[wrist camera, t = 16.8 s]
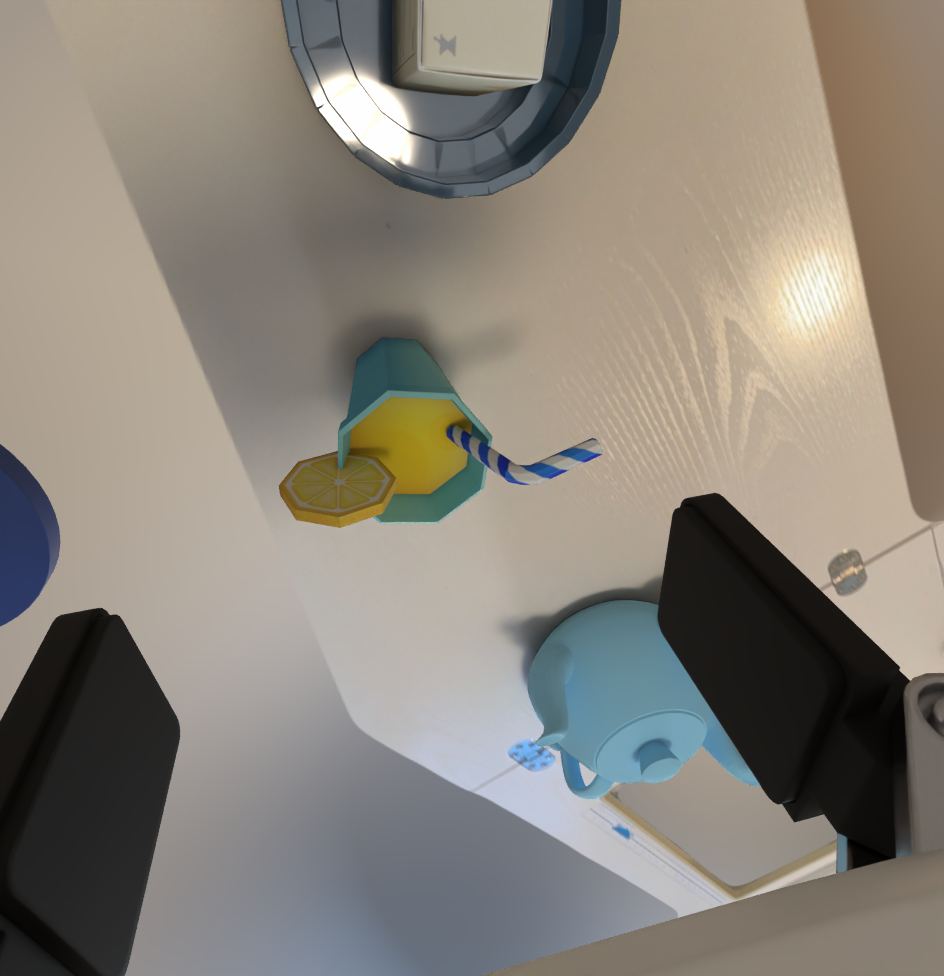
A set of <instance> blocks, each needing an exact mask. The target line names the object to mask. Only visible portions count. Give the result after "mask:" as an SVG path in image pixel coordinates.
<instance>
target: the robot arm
mask: <svg viewBox="0 0 944 976" xmlns="http://www.w3.org/2000/svg"><path fill="white" fill-rule="evenodd" d="M657 619H658V624H659V628H660V630H661V633H662V634H663V636H664V638H665V639H666V641H667V642H668V644H669V645H670V647H671V648H672V650H673V651H674V653H675V655H676V656H677V658H678V659H679V661H680V662H681V664H682V665H683V667H684V668H685V670H686V672H687V673H688V675H689V676H690V678H691V679H692V681H693V682H694V684H695V685H696V687H697V688H698V690H699V692H700V693H701V695H702V696H703V698H704V699H705V701H706V702H707V704H708V705H709V707H710V709H711V710H712V712H713V713H714V715H715V716H716V718H717V719H718V721H719V722H720V724H721V725H722V727H723V729H724V730H725V732H726V733H727V735H728V736H729V738H730V739H731V741H732V742H733V744H734V746H735V747H736V749H737V750H738V752H739V753H740V755H741V756H742V758H743V759H744V761H745V762H746V764H747V766H748V767H749V769H750V770H751V772H752V773H753V775H754V776H755V778H756V779H757V781H758V783H759V784H760V786H761V787H762V789H763V790H764V792H765V793H766V794H767V796H768V797H769V798H770V799H771V800H772V801H773V802H774V803H776V804H782V805H783V806H784V807H785V809H786V811H787V812H788V814H789V815H790V817H791V818H792V819H793V821H794V822H797V821H801V820H805V819H809V818H812V817H816V816H819V815H823V814H824V815H825V816H826V818H827V819H828V820H829V822H830V823H831V824H832V826H833V827H834V829H835V830H836V832H837V860H836V874H833V875H829V876H826V877H822V878H818V879H814V880H811V881H807V882H803V883H799V884H796V885H792V886H788V887H784V888H781V889H777V890H774V891H770V892H767V893H764V894H760V895H757V896H753V897H750V898H746V899H743V900H739V901H736V902H732V903H729V904H725V905H722V906H718V907H715V908H711V909H708V910H705V911H701V912H698V913H694V914H691V915H687V916H684V917H680V918H677V919H673V920H670V921H666V922H663V923H659V924H656V925H652V926H649V927H646V928H642V929H639V930H635V931H632V932H628V933H625V934H621V935H618V936H614V937H611V938H608V939H604V940H601V941H597V942H594V943H590V944H587V945H584V946H580V947H577V948H574V949H570V950H567V951H563V952H560V953H556V954H553V955H550V956H546V957H543V958H539V959H536V960H533V961H529V962H526V963H522V964H519V965H515V966H512V967H509V968H505V969H502V970H498V971H495V972H492V973H488V974H485V975H482V976H944V673H927V674H923V675H921V676H918V677H915V678H913V679H912V680H911V681H910V680H909V679H908V678H907V677H906V676H905V675H904V674H902V673H901V672H900V671H899V669H900V667H899V666H898V665H897V664H896V663H895V662H894V661H893V660H892V659H891V658H890V657H889V656H888V655H887V654H886V653H885V652H884V651H883V650H882V649H881V648H880V647H879V646H878V645H877V644H876V643H874V642H873V641H872V640H871V639H870V638H869V637H868V636H867V635H866V634H865V633H864V632H863V631H862V630H861V629H860V628H859V627H858V626H857V625H856V624H855V623H854V622H853V621H852V620H851V619H850V618H849V617H847V616H846V615H845V614H844V613H843V612H842V611H841V610H840V609H839V608H838V607H837V606H836V605H835V604H834V603H833V602H832V601H831V600H830V599H829V598H828V597H827V596H826V595H825V594H824V593H823V592H822V591H820V590H819V589H818V588H817V587H816V586H815V585H814V584H813V583H812V582H811V581H810V580H809V579H808V578H807V577H806V576H805V575H804V574H803V573H802V572H801V571H800V570H799V569H798V568H797V567H796V566H795V565H793V564H792V563H791V562H790V561H789V560H788V559H787V558H786V557H785V556H784V555H783V554H782V553H781V552H780V551H779V550H778V549H777V548H776V547H775V546H774V545H773V544H772V543H771V542H770V541H769V540H768V539H766V538H765V537H764V536H763V535H762V534H761V533H760V532H759V531H758V530H757V529H756V528H755V527H754V526H753V525H752V524H751V523H750V522H749V521H748V520H747V519H746V518H745V517H744V516H743V515H742V514H741V513H739V512H738V511H737V510H736V509H735V508H734V507H733V506H732V505H731V504H730V503H729V502H728V501H727V500H726V499H725V498H724V497H723V496H721V495H720V494H717V493H712V494H706V495H701V496H696V497H690V498H686V499H684V500H683V501H682V503H681V506H680V508H677V509H675V510H674V512H673V515H672V522H671V528H670V535H669V541H668V548H667V554H666V561H665V568H664V574H663V581H662V587H661V594H660V600H659V607H658V614H657ZM179 740H180V726H179V721H178V719H177V716H176V715H175V713H174V711H173V709H172V708H171V706H170V704H169V702H168V700H167V698H166V697H165V695H164V693H163V691H162V690H161V688H160V686H159V684H158V682H157V681H156V679H155V677H154V675H153V674H152V672H151V670H150V668H149V666H148V665H147V663H146V661H145V659H144V658H143V656H142V654H141V652H140V651H139V649H138V647H137V645H136V643H135V642H134V640H133V638H132V636H131V634H130V633H129V631H128V629H127V627H126V625H125V624H124V622H123V620H122V619H121V617H120V616H118V615H109V614H108V612H107V611H106V610H104V609H103V608H96V609H90V610H85V611H80V612H74V613H69V614H64V615H60V616H58V617H57V618H56V619H55V620H54V621H53V623H52V625H51V626H50V629H49V630H48V632H47V634H46V636H45V638H44V640H43V642H42V643H41V645H40V647H39V649H38V651H37V653H36V655H35V657H34V659H33V661H32V662H31V664H30V666H29V668H28V670H27V672H26V674H25V676H24V678H23V680H22V681H21V683H20V685H19V687H18V689H17V691H16V693H15V694H14V696H13V698H12V700H11V702H10V704H9V706H8V708H7V710H6V712H5V713H4V715H3V717H2V719H1V721H0V976H124V975H125V973H126V971H127V967H128V964H129V960H130V955H131V951H132V946H133V942H134V938H135V933H136V929H137V924H138V920H139V916H140V911H141V907H142V902H143V898H144V894H145V890H146V885H147V880H148V876H149V872H150V867H151V863H152V859H153V855H154V850H155V846H156V841H157V837H158V832H159V828H160V824H161V819H162V815H163V811H164V806H165V802H166V798H167V793H168V789H169V784H170V780H171V775H172V771H173V767H174V762H175V758H176V753H177V749H178V745H179Z"/></svg>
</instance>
